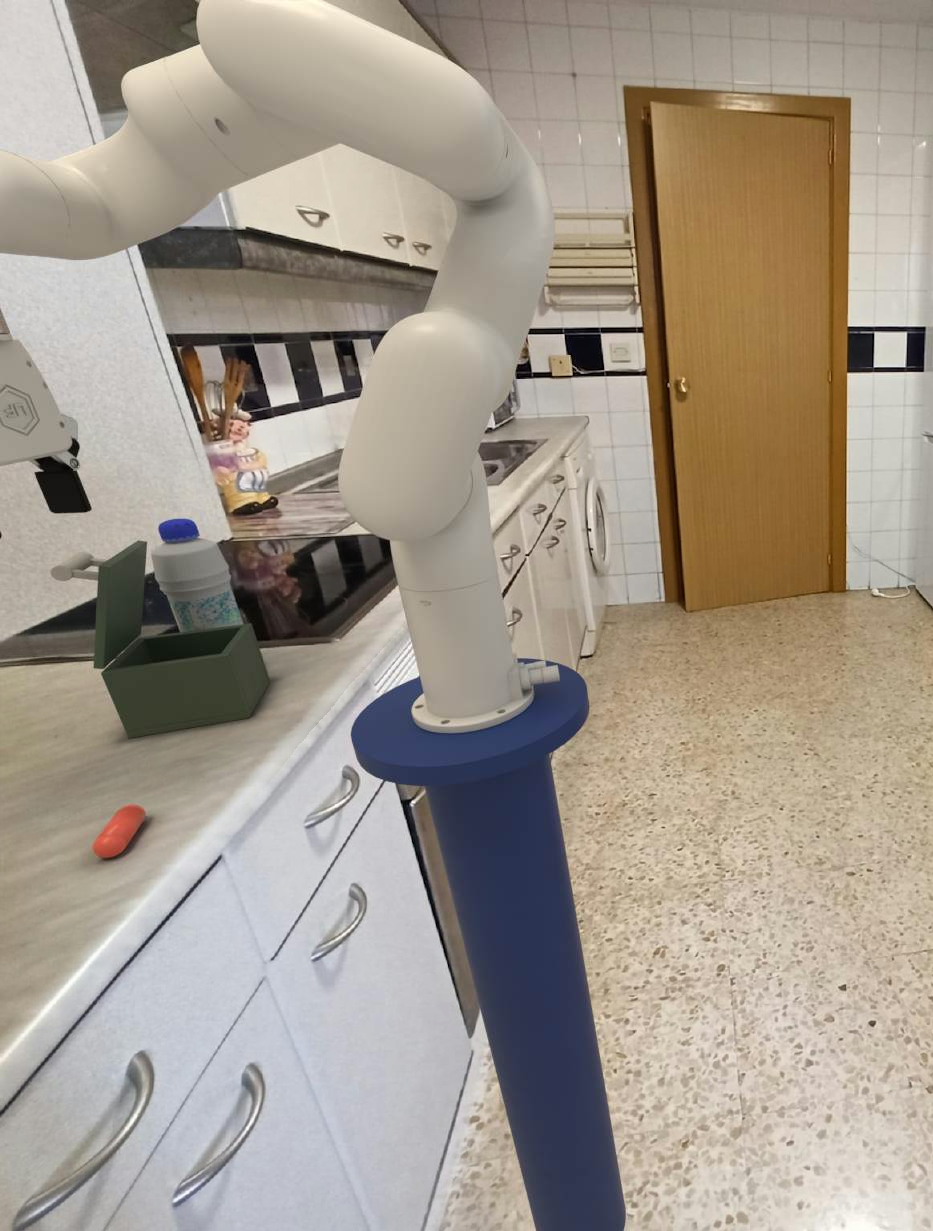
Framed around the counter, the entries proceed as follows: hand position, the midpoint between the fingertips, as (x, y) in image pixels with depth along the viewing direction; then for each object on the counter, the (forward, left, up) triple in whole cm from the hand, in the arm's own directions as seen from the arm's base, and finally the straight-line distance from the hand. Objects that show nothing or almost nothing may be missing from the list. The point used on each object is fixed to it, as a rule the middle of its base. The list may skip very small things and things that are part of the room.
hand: (28, 525), depth 65 cm
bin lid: (-2, -7, -10) cm, 13 cm away
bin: (-5, -7, -24) cm, 25 cm away
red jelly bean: (-6, +18, -24) cm, 30 cm away
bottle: (-5, -16, -24) cm, 29 cm away
